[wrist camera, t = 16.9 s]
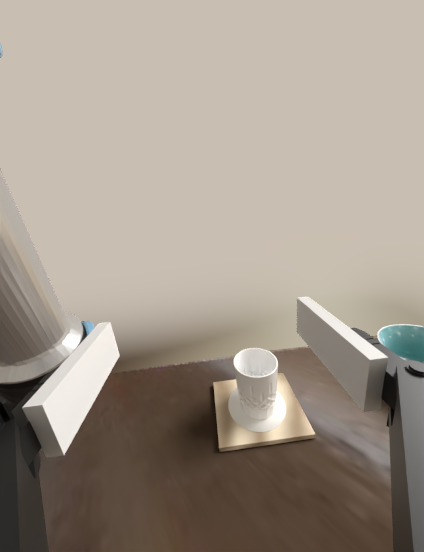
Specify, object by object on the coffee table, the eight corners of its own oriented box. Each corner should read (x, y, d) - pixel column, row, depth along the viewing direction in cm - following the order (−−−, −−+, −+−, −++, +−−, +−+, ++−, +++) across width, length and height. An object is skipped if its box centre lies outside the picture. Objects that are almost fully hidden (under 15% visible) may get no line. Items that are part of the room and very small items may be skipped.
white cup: (255, 432, 36) (252, 384, 33) (229, 400, 43) (225, 358, 40) (288, 408, 40) (287, 364, 37) (259, 382, 46) (257, 342, 44)
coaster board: (219, 452, 35) (219, 447, 35) (213, 385, 48) (213, 382, 48) (315, 438, 35) (315, 433, 35) (283, 376, 49) (282, 372, 48)
